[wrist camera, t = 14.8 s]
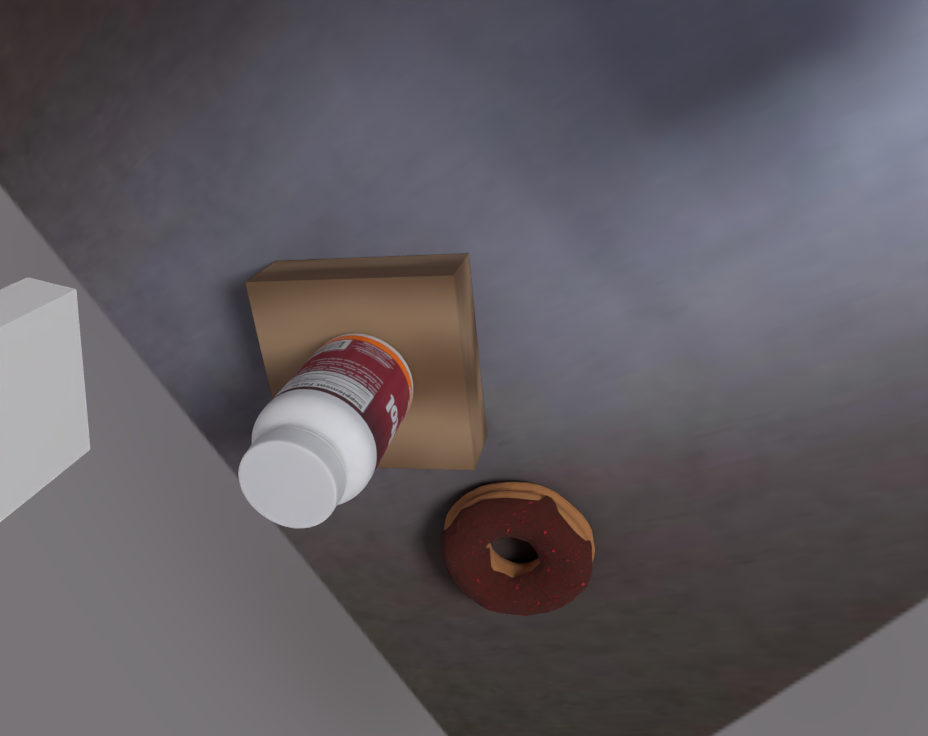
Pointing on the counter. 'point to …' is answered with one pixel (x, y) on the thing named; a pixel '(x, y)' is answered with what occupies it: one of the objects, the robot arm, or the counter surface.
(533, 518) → the donut
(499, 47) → the counter surface
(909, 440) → the counter surface
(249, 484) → the pill bottle
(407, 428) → the tan flat block
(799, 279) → the counter surface
